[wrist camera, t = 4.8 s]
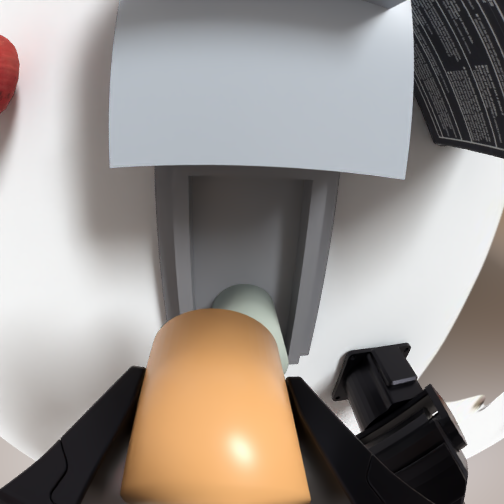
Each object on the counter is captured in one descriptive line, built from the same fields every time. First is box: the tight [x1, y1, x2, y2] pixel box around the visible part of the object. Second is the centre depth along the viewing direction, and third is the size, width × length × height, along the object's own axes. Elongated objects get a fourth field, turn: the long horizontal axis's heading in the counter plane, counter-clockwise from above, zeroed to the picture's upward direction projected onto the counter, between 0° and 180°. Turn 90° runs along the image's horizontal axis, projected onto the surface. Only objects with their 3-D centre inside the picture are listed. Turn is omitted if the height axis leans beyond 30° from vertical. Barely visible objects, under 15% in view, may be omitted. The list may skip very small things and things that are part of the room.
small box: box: [411, 0, 504, 158], centre depth 9 cm, size 11×6×10 cm, turn 32°
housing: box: [155, 165, 340, 374], centre depth 13 cm, size 28×10×6 cm, turn 177°
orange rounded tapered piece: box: [120, 308, 311, 504], centre depth 7 cm, size 4×4×5 cm
